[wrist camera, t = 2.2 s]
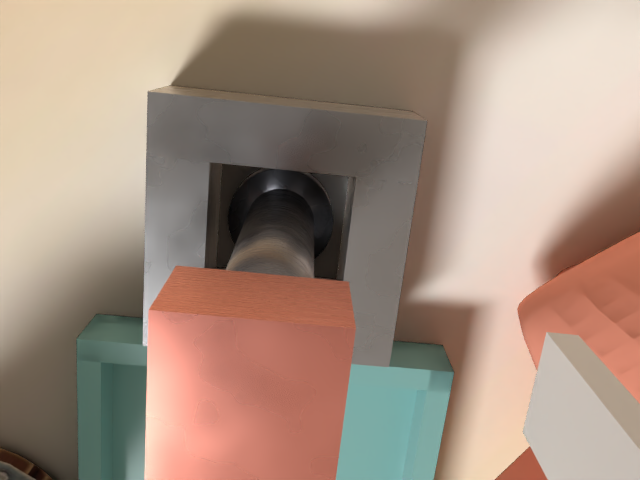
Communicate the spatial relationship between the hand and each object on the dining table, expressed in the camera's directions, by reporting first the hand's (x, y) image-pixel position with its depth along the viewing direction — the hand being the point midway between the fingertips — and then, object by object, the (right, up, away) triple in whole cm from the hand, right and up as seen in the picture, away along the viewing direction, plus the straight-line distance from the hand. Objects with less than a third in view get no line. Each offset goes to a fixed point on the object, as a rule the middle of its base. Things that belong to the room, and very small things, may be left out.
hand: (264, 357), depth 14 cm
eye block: (0, +4, +12) cm, 13 cm away
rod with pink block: (0, +4, +12) cm, 13 cm away
